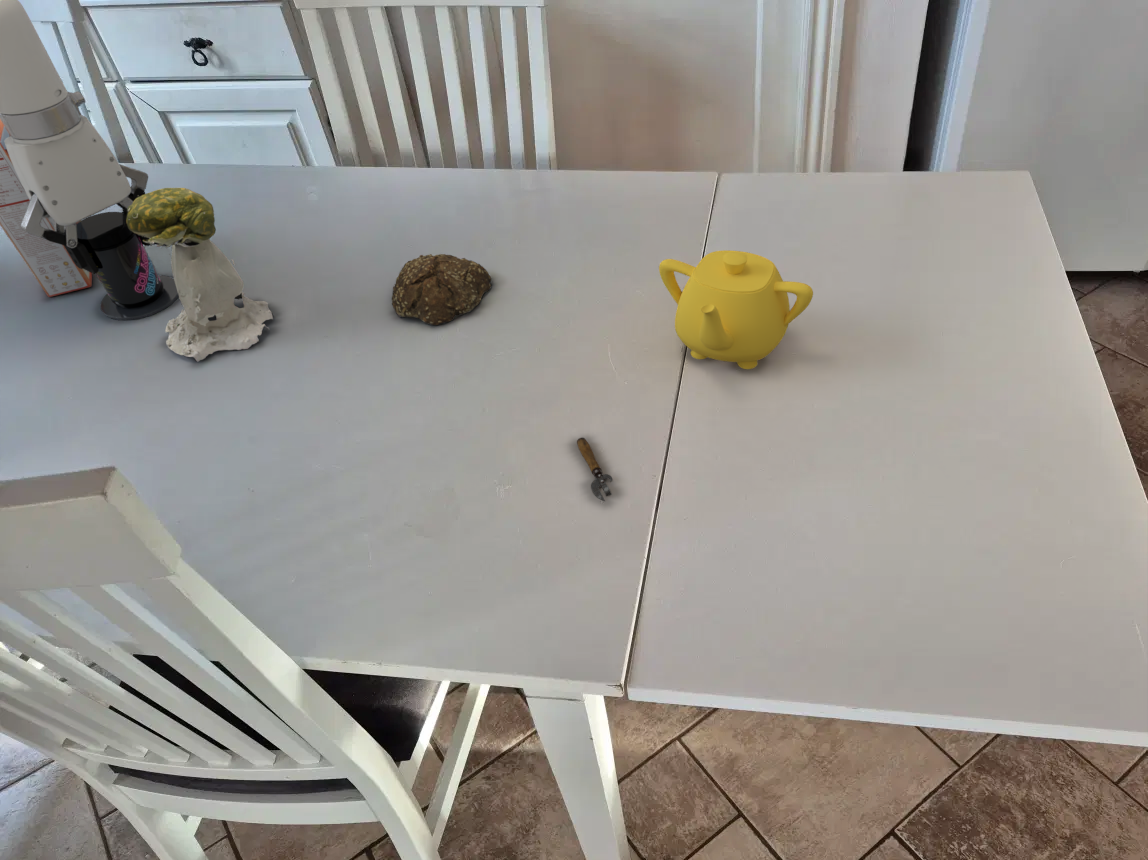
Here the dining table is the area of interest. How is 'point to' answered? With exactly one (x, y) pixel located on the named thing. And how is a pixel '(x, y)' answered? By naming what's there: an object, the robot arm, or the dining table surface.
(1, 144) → the cracker box
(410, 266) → the bread roll
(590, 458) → the can opener
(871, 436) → the dining table surface
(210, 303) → the frog
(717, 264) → the teapot
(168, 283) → the coaster
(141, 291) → the supplement container
